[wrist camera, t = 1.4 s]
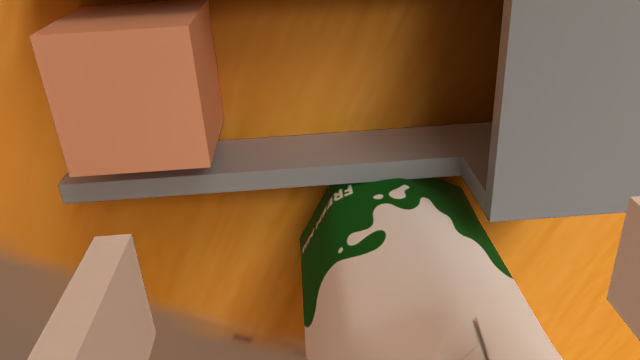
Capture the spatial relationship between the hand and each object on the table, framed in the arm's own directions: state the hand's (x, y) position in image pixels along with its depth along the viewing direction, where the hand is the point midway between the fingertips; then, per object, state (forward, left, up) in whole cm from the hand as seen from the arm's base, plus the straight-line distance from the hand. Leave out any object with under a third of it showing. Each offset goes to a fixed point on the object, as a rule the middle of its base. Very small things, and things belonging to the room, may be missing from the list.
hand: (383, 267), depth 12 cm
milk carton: (+10, +3, -19) cm, 21 cm away
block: (0, -9, -18) cm, 20 cm away
